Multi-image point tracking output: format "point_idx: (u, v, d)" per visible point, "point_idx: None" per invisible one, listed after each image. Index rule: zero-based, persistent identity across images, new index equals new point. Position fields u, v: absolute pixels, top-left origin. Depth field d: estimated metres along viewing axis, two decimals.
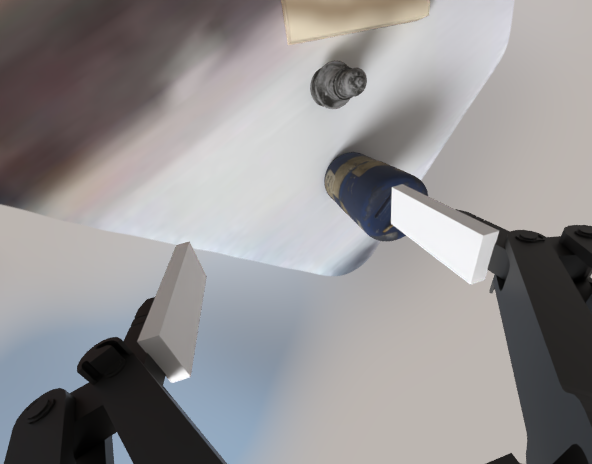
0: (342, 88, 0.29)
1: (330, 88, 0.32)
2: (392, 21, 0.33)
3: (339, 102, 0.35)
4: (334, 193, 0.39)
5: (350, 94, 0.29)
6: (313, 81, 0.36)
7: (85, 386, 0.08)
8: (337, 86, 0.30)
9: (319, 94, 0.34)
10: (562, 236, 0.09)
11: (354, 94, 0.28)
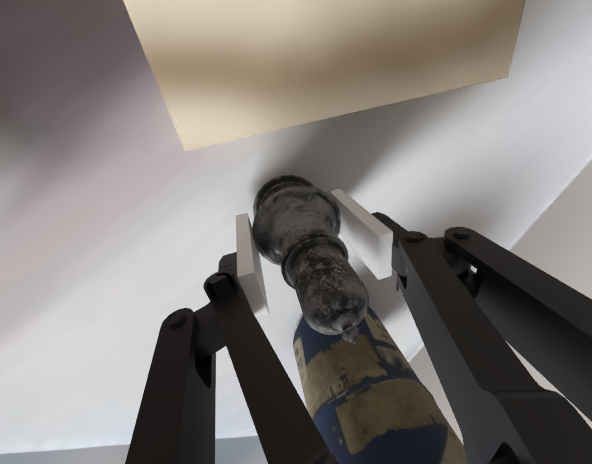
0: None
1: (282, 254, 0.14)
2: (427, 93, 0.14)
3: None
4: None
5: None
6: (258, 204, 0.17)
7: (199, 310, 0.10)
8: None
9: (263, 249, 0.15)
10: (445, 239, 0.10)
11: None
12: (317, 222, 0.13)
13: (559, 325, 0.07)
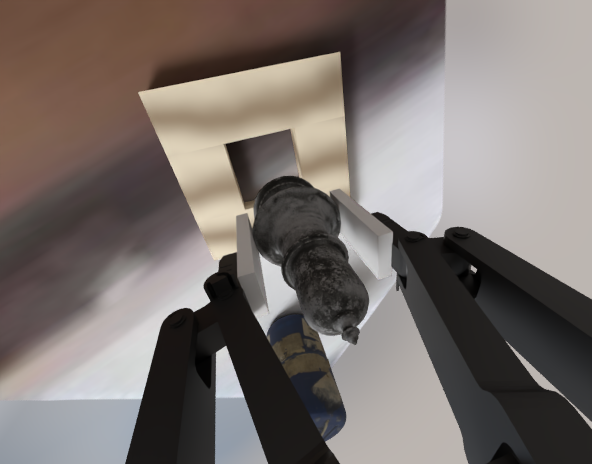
0: None
1: (282, 255, 0.14)
2: None
3: None
4: None
5: None
6: (258, 204, 0.17)
7: (200, 310, 0.10)
8: None
9: (263, 249, 0.15)
10: (445, 239, 0.10)
11: None
12: (318, 223, 0.13)
13: (559, 325, 0.07)
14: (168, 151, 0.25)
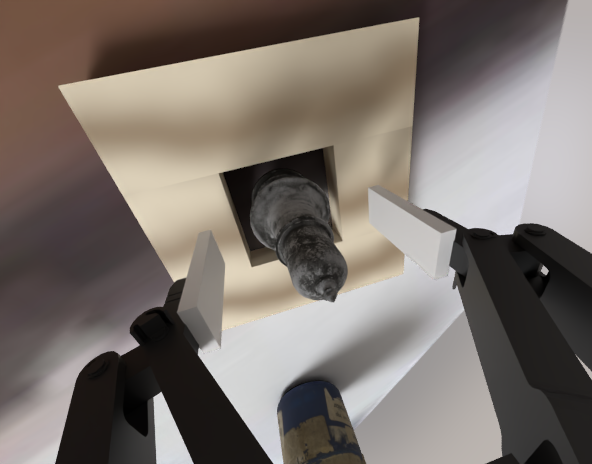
0: None
1: (276, 237, 0.15)
2: (351, 289, 0.23)
3: None
4: None
5: None
6: (255, 195, 0.19)
7: (132, 351, 0.09)
8: (284, 258, 0.13)
9: (259, 234, 0.17)
10: (514, 235, 0.10)
11: None
12: (308, 209, 0.15)
13: None
14: (124, 187, 0.15)
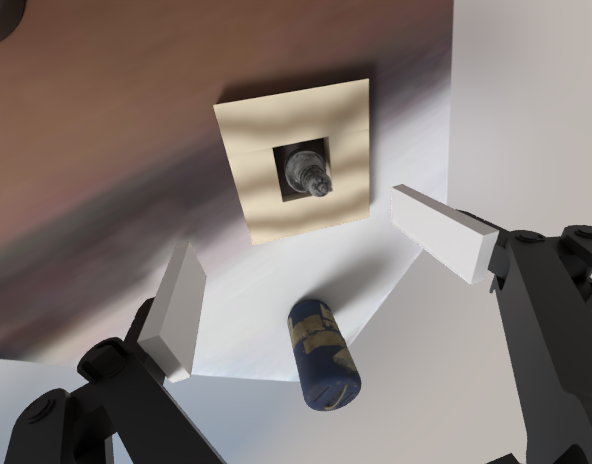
0: (308, 189, 0.28)
1: (299, 179, 0.32)
2: (338, 224, 0.40)
3: None
4: (292, 345, 0.45)
5: None
6: (286, 162, 0.36)
7: (85, 386, 0.08)
8: (304, 183, 0.29)
9: (289, 180, 0.33)
10: (562, 236, 0.09)
11: (319, 196, 0.28)
12: (315, 165, 0.31)
13: None
14: (229, 151, 0.31)
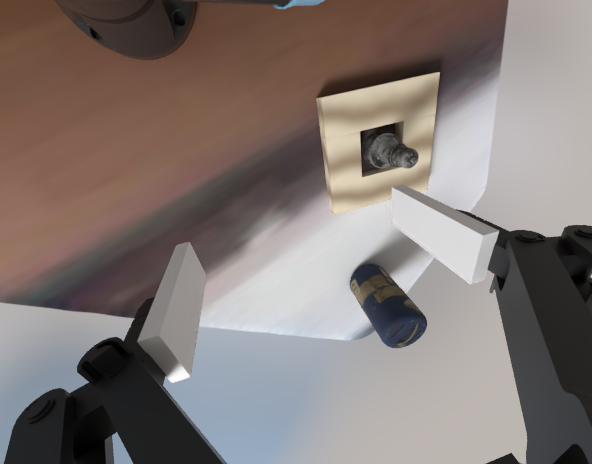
0: (398, 162, 0.36)
1: (383, 156, 0.39)
2: None
3: (387, 163, 0.42)
4: (359, 301, 0.53)
5: (404, 167, 0.36)
6: (364, 144, 0.43)
7: (85, 386, 0.08)
8: (392, 158, 0.37)
9: (372, 158, 0.41)
10: (562, 236, 0.09)
11: (408, 167, 0.36)
12: None
13: None
14: (327, 135, 0.39)
